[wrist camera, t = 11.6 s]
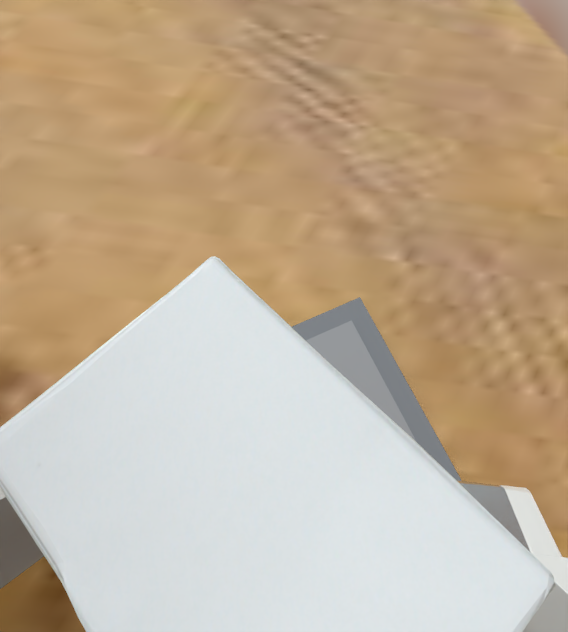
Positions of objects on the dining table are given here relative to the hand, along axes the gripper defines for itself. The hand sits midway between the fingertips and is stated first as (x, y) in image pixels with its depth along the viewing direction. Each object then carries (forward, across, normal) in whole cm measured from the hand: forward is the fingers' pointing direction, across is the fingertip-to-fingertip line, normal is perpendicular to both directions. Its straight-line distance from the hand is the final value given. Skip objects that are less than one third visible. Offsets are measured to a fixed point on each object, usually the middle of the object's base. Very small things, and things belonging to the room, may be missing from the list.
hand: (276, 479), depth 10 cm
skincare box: (+5, 0, +6) cm, 7 cm away
